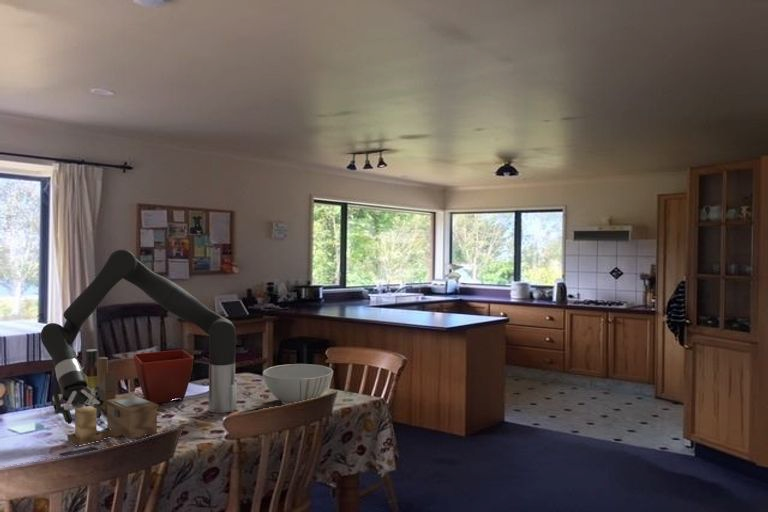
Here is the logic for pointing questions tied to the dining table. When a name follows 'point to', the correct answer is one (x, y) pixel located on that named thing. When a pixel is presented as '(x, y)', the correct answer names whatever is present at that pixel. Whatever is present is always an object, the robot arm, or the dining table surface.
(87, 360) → the sauce bottle
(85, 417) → the tan cylinder
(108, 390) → the wooden block
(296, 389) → the decorative bowl
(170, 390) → the plant pot
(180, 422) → the dining table surface
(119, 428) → the brown box with frame
